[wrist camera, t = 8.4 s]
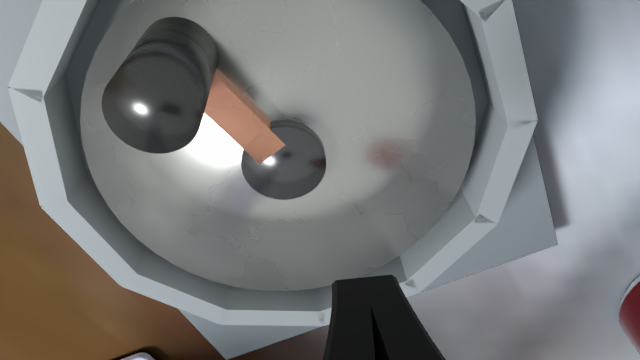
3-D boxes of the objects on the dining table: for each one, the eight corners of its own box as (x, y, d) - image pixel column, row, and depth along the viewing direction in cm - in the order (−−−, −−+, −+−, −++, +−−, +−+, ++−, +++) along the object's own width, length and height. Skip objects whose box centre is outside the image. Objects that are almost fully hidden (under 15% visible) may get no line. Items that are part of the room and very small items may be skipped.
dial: (527, 155, 20) (593, 240, 16) (270, 313, 24) (267, 414, 20) (308, -176, 13) (321, -183, 9) (9, 122, 18) (-77, 212, 14)
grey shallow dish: (228, 344, 28) (222, 393, 25) (-125, -40, 16) (-199, -18, 13) (548, 230, 24) (578, 275, 22) (407, -364, 12) (438, -415, 10)
